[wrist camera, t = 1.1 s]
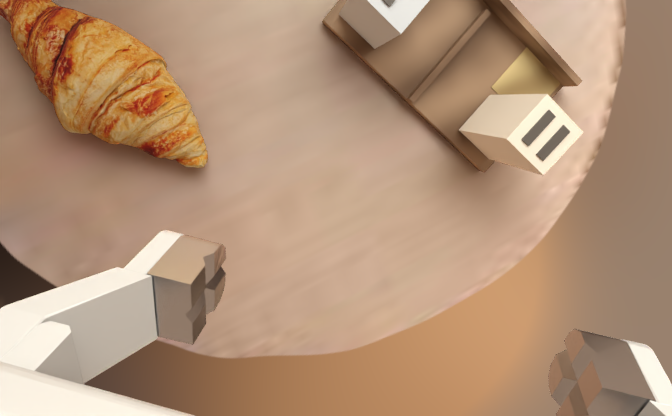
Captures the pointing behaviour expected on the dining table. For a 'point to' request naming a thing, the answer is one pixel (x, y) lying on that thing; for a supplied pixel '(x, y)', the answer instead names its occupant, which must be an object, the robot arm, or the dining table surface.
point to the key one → (380, 18)
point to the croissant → (105, 81)
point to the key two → (521, 130)
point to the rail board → (461, 62)
